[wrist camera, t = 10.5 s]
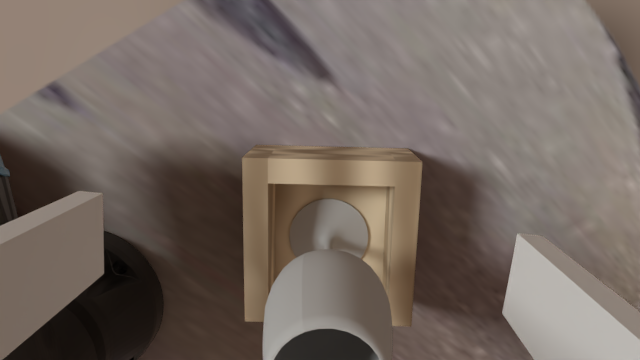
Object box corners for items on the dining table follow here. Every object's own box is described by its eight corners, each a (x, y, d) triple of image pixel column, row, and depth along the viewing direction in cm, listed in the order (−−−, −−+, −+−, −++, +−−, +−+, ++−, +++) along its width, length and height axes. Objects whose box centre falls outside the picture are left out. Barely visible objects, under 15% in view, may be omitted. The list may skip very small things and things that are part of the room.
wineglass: (307, 286, 44) (286, 468, 23) (274, 214, 42) (221, 340, 22) (382, 257, 43) (429, 420, 22) (351, 183, 41) (372, 283, 21)
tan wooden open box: (257, 285, 46) (244, 321, 39) (256, 144, 43) (242, 157, 36) (399, 289, 46) (411, 326, 39) (407, 148, 43) (422, 162, 36)
